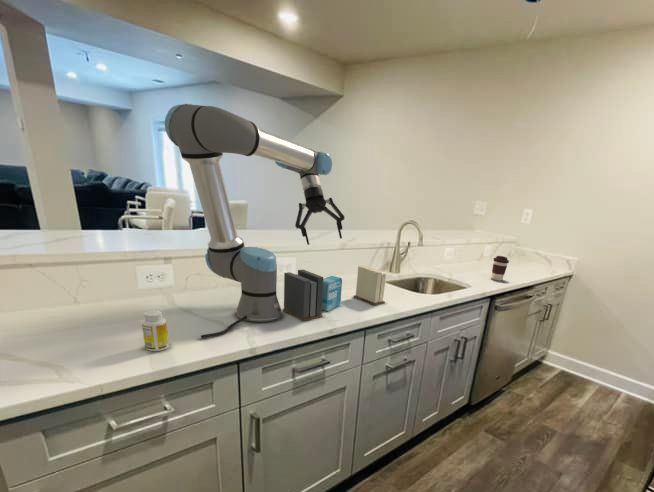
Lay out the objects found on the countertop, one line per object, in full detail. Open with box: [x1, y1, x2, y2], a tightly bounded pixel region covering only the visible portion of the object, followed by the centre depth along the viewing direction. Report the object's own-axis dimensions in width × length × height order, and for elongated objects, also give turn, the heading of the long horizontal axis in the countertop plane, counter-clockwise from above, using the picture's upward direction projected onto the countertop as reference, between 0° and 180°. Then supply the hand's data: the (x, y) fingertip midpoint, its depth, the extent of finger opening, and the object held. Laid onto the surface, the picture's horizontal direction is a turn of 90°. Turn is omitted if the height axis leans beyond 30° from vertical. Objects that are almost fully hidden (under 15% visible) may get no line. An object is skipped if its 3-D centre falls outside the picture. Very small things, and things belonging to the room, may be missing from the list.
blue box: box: [322, 275, 343, 312], centre depth 154 cm, size 12×4×12 cm, turn 161°
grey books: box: [282, 268, 324, 322], centre depth 143 cm, size 8×13×15 cm, turn 51°
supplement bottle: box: [141, 310, 170, 352], centre depth 104 cm, size 6×6×10 cm
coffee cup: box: [491, 255, 510, 282], centre depth 251 cm, size 10×10×15 cm
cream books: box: [353, 265, 387, 306], centre depth 170 cm, size 7×13×14 cm, turn 51°
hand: (324, 240), depth 157 cm, fingers open, 13 cm apart
